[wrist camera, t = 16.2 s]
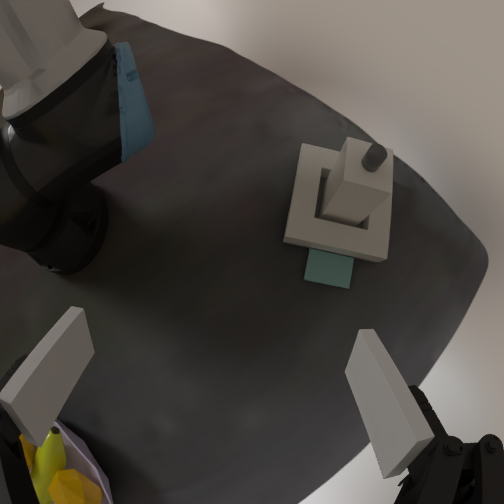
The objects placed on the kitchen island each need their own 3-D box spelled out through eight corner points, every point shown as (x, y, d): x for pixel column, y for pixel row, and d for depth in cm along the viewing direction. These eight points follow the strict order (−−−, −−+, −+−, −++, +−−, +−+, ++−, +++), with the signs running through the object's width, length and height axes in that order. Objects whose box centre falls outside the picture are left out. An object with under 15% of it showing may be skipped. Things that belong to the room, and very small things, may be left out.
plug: (355, 227, 36) (402, 183, 22) (319, 218, 37) (350, 168, 23) (358, 192, 37) (402, 138, 23) (324, 184, 38) (353, 123, 23)
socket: (371, 293, 35) (382, 292, 32) (276, 274, 36) (277, 270, 33) (383, 177, 38) (392, 167, 35) (299, 155, 39) (302, 143, 36)
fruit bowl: (44, 365, 35) (-4, 373, 23) (157, 493, 30) (132, 533, 19) (-3, 430, 31) (-37, 442, 20) (82, 529, 27) (58, 554, 16)
